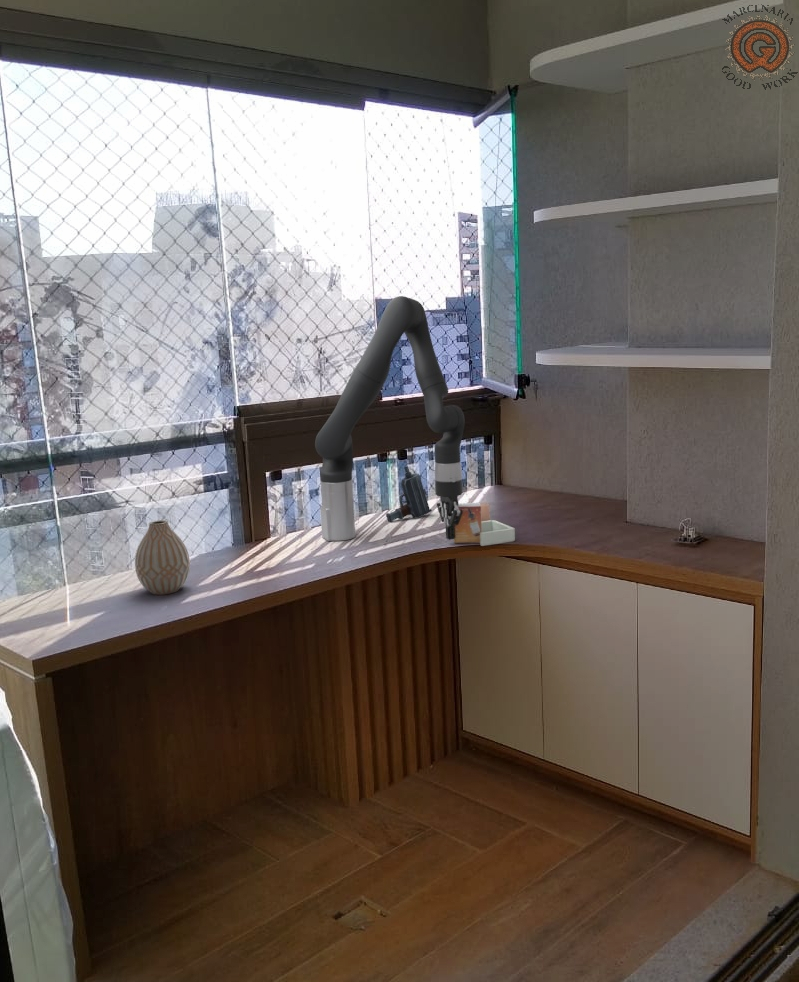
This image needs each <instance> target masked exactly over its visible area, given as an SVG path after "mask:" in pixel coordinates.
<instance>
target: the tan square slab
mask: <svg viewBox="0 0 799 982" xmlns="http://www.w3.org/2000/svg"><path fill="white" fill-rule="evenodd" d="M480 504H481V521H488V520H491V512H490V510H491V509H490V508H491V507H490V503H487V502H480Z"/></svg>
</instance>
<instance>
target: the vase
mask: <svg viewBox="0 0 799 982" xmlns="http://www.w3.org/2000/svg"><path fill="white" fill-rule="evenodd" d="M134 569H135V574H136V577H137V580H138V581H139V583H140V585H142V587H143V588H144V589H145V590H147V591H148V592H149V593H151V594H153V595H157V596H158V595H159V596H160V595H161V596H162V595H169V594H174V593H176V592H178V591H179V590H180V589H181V588H182V587H183V586H184V585H185V583H186V582H187V579H188V577H189V574H190V569H191V560H190V556H189V550H188V548H187V546H186V544H185V543H184V541H183V540H182V538H180V536H179V535H178V534H177V533H176V532H175V531H174V530H173V529H172V528H171V526H170V525H169V522H168V520H166V519H165V520H164V519H161V520H153V521H150V522H149V523H148V528H147V531H146V533H145V534H144V536H143V537H142V539H141V540H140V542H139V543H138V546H137V549H136V552H135V556H134Z"/></svg>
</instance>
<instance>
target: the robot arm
mask: <svg viewBox="0 0 799 982" xmlns="http://www.w3.org/2000/svg"><path fill="white" fill-rule="evenodd" d="M403 335H405V336H406V339H407V340H408V342H409V345H410V347H411V350H412V355H413V362H414V363H413V364H414V365H413V366H414V373H415V377H416V380H417V382H418V384H419V387H420V390H421V393H422V395H423V399H424V402H423V403H424V409H425V410H424V411H425V416H426V417H425V419H426V422H427V424H428V427H429V428H430V429H431V430H432V431H433V432H434V433H438V434H443V435H442V438H441V439H440V440H438V441H437V442H436V443H434V490H435V491H434V492H435V493H434V494H435V496H437V497H439V500H440V502H437V503H436V507H437V510H438V513H439V517H440V520H441V523H443V524H444V526H445V538H446V539H447V540H454V539H455V526H456V525H458V524H459V522H460V519H461V516H462V513H463V510H462V509H459V508H458V507H459V504H458V503H459V500H458V497H459V496H461V495H462V494H463V475H462V474H463V471H462V464H461V463H462V462H461V444H462V439H463V435H464V429H465V414H464V411H463V410H462V408H461V407H460V406H458V405H456V404H455V405H454V404H450V405H444V401H443V400H444V398H446V397H447V396H448V394H449V387H448V385H447V382H446V380H445V377H444V374H443V371H442V369H441V367H440V365H439V361H438V358H437V355H436V352H435V349H434V346H433V342H432V338H431V334H430V328H429V324H428V318H427V315H426V311H425V307H424V306H423V304H422V303H421V302H420V301H418V300H417V299H413V298H410V297H407V296H403V295H401V296H396V297H394V298H392V299H391V300H390V301H389V302H388V303H387V305H386V306H385V309H384V311H383V313H382V314H381V317H380V320H379V322H378V325H377V327H376V330H375V332H374V334H373V336H372V338H371V339H370V341H369V344H368V346H367V347H366V348H365V351H364V352H363V354H362V356H361V358H360V360H359V361H358V363H357V364H356V366H355V368H354V369H353V372H352V373H351V375H350V377H349V379H348V380H347V383H346V385H345V387H344V390H343V391H342V393H341V395H340V398H338V402H337V404H336V405H335V408H334V410H332V413H331V414H330V416H329V417H328V419H327V420H326V422H325V423H324V425H323V426H322V428H321V429H320V430H319V431H318V432H317V435H316V436H315V442H314V446H315V447H314V448H315V451H316V452H317V454H318V455H319V457H321V458H322V466H321V469H320V473H319V476H320V494H321V505H320V506H319V507H320V509H319V510H320V511H319V512H320V523H321V524H320V525H321V536H322V537H321V538H323V539H325V541H327V542H332V541H334V542H337V541H339V542H341V541H348V540H350V539H354V538H356V525H355V522H356V520H355V509H354V508H355V507H354V506H355V505H354V490H353V471H354V470H353V469H354V451H353V450H354V447H353V438H352V434H351V433H352V431H353V429H354V428H355V426H356V424H357V423H358V421H359V420H360V418H361V417H362V416H363V414H364V413H365V412H366V411H367V410H368V408H369V407H370V406H371V405H372V404H373V402H374V401H375V399H376V398H377V397H378V395H379V393H380V392H381V390H382V389H383V386H384V385H385V382H387V381H386V380H387V379H388V376H389V374H390V368H391V362H392V356H393V353H394V350H395V348H396V346H397V345H398V342H399V340H400V339H401V337H402V336H403Z"/></svg>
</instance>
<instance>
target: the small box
mask: <svg viewBox="0 0 799 982" xmlns="http://www.w3.org/2000/svg"><path fill="white" fill-rule="evenodd" d="M480 503H481V502H479V501H478V502H464V503H463V502H461V503H459V502H458V504H459V507H458V508H459V509H462V510H463V513H462V516H461V519H460V522H459V524H458V525H456V526H455V539H453V543H454V544H457V543H459V544H460V543H479V544H480V533H482V522H481V504H480Z"/></svg>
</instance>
